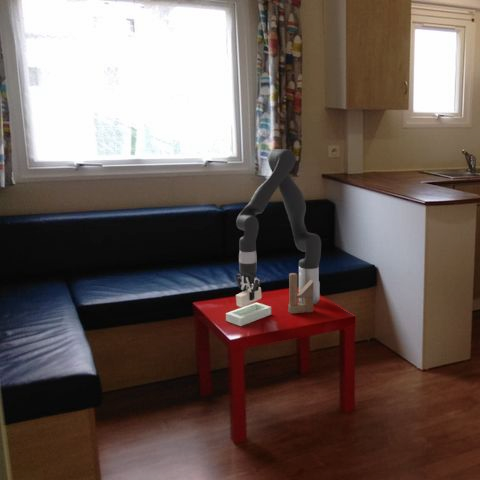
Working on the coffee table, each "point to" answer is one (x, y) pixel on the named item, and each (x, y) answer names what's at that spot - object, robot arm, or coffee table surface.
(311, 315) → the coffee table surface
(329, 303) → the coffee table surface
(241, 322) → the white rectangular tray
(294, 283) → the wooden bracket
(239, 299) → the cream rectangular block
